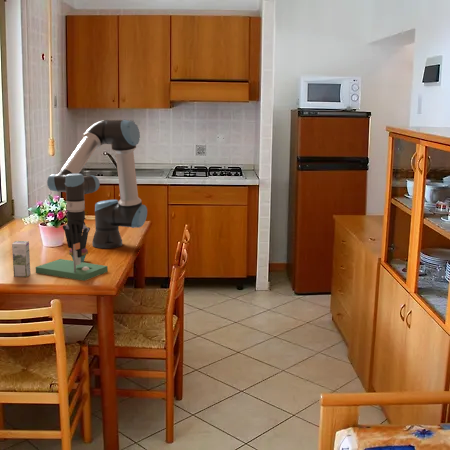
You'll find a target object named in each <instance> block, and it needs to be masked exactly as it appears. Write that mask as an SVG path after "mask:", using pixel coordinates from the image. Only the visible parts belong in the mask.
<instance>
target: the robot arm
mask: <svg viewBox="0 0 450 450" xmlns="http://www.w3.org/2000/svg"><path fill="white" fill-rule="evenodd" d="M139 129H140V128H139V127H138V125H137V124H136V122H135V121H133V120H127V119H101V120H99V121H97V122H95V123H93V124H92V125H91V126H90V127H88V128H87V129H86V131H84V133H83V134H82V136H81V141H79V143H78V144H77V146H76V148H75V149H74V151H72V153H71V154H70V156H69V157H68V159H67V160H66V162H65V163H64V164H63V166H62V167H61V168H60V170H59V171H58V173H53V174H50V175H49V176H48V177H47V181H46V185H47V188H48V189H49V190H50V191H52V192H56V193H57V192H58V193H65V203H66V204H65V205H66V210H67V211H66V220H67V222H66V224H65V225H62V229H63V232H64V234H65V239H66V243H67V247H68V248H69V249H72V255H73V244H76V243H80V249H77V250H75V258H76V265H79V264H81V257H82V249H84V248H86V249H87V242H88V236H89V232H90V230H91V228H90V227H87V225H86V223H85V219H86V211H85V210H86V207H85V205H86V204H85V202H86V201H85V195H87V194H88V195H89V194H92V193H95V192H97V191H98V190H99V189H100V186H101V185H100V180H99V178H98V177H97V176H96V175H93V174H90V175H89V174H87V175H84V174H83V173H80V172H81V171H82V170H83V168H84V167H85V165H86V163H88V161H89V159H90V158H91V157H92V155H93V154H94V152H95V151H96V150H98V149H100V148H101V146H103V145H111V150H112V151H113V152H114V154H115V160H116V167H117V178H118V186H119V195H120V196H119V197H120V199H119V200H118V199H107V200H100V201H98V202H95V204H94V220H95V221H94V222H95V224H94V225H95V232H94V235H93V238H92V247H94V248H98V249H115V248H120V247H122V246H123V239H122V235H121V232H120V230H119V227H124V228H133V229H134V228H135V229H136V228H141V227H143V226H144V224H145V222H146V220H147V217H148V207H147V206H146V205H145V204H143V202H142V201H143V200H142V199H141V198H140V197H139V193H138V192H139V191H138V183H137V173H136V164H135V153H134V151H135V150H136V149H137V145H138V144H139V143H140V138H141V135H140V133H141V132H140V130H139Z"/></svg>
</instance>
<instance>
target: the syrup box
mask: <svg viewBox="0 0 450 450" xmlns="http://www.w3.org/2000/svg"><path fill="white" fill-rule="evenodd" d="M11 248H12V249H11V250H12V270H13V277H15V278H27V277H29V276H30V275H31V262H30V261H31V259H30V257H31V256H30V241H29V240H25V241H24V240H15V241H14V242H12V244H11Z"/></svg>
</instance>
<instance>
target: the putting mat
mask: <svg viewBox="0 0 450 450" xmlns="http://www.w3.org/2000/svg"><path fill="white" fill-rule="evenodd" d="M77 249H80V243H76V244H73V257H74V261H73V260H70V259H63V258H60V259H56V260H53V261H50V262H47V263H43V264H41V265H38V266H35V273H36V274H42V275H48V276H54V277H59V278H65V279H72V280H77V281H83V282H84V281H88V280H90V279H93V278H95V277H97V276H100V275H103V274H105V273H106V274H107V273H109V272H108V270H109V268H108V267H109V266H108V265H102V264H97V263H90V262H85V261H84V262H81V264H79V265H76V258H75V250H77ZM83 267H88V268H89V270H87V271H84V270H82V268H83Z"/></svg>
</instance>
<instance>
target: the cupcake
mask: <svg viewBox="0 0 450 450" xmlns="http://www.w3.org/2000/svg"><path fill="white" fill-rule="evenodd" d="M88 252H89V251H88V249H87V247H86V248H84V249H82V257H81V262H84V263H85V258H86V256H87V255H88V254H89V253H88ZM68 255H69V256H70V257H71V258H72V261H74V257H73V255H72V249H71V248H69V251H68Z"/></svg>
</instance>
